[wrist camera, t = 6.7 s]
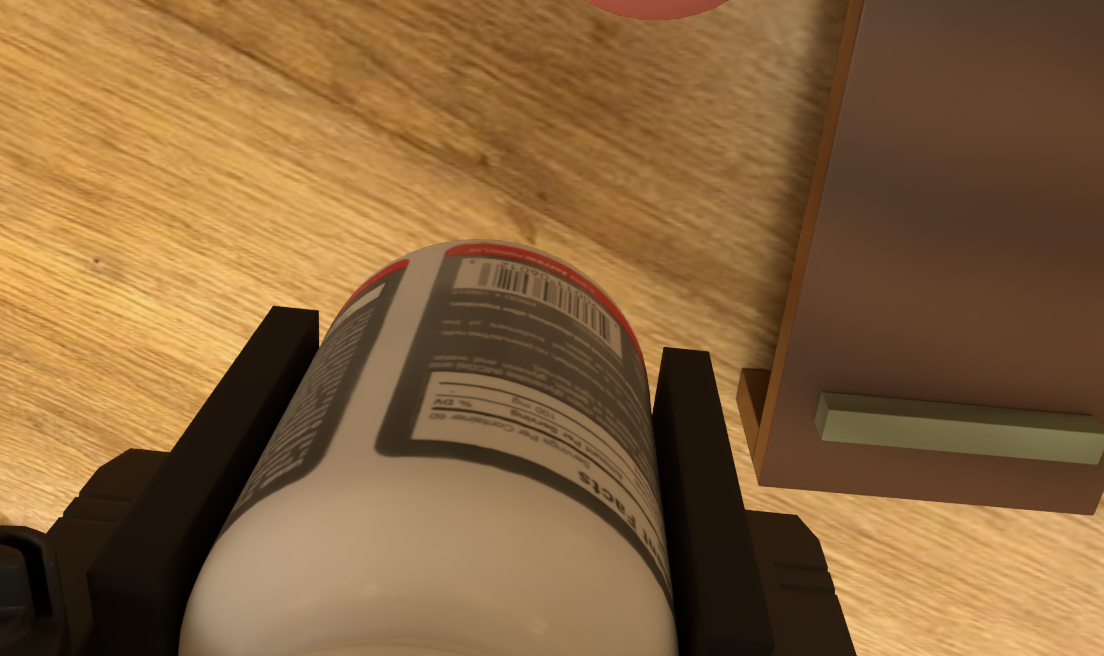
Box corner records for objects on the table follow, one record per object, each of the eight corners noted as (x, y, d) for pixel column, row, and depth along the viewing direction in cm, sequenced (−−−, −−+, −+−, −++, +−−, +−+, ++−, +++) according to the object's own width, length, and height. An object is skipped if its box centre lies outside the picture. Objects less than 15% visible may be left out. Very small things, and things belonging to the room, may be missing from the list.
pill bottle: (408, 539, 19) (242, 1154, 10) (272, 290, 17) (-103, 801, 8) (690, 459, 18) (784, 1069, 9) (585, 180, 15) (572, 629, 7)
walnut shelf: (854, -213, 29) (926, -229, 23) (1242, -178, 30) (1423, -184, 23) (735, 400, 39) (763, 507, 33) (1026, 425, 39) (1110, 538, 33)
